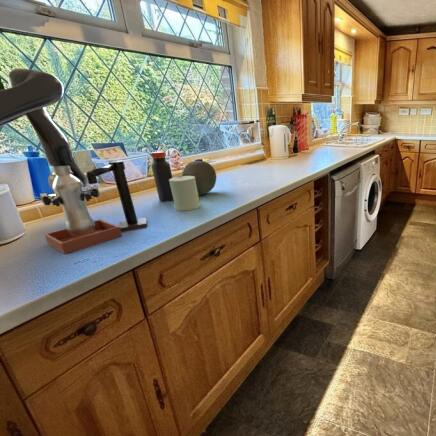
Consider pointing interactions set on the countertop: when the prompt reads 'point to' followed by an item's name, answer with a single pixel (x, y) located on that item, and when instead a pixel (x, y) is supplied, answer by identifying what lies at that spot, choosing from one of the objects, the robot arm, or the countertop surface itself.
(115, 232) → the reddish brown tray
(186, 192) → the can
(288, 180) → the countertop surface
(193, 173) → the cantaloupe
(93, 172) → the spout
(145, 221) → the faucet base
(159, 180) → the vinegar
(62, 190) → the plastic bottle
